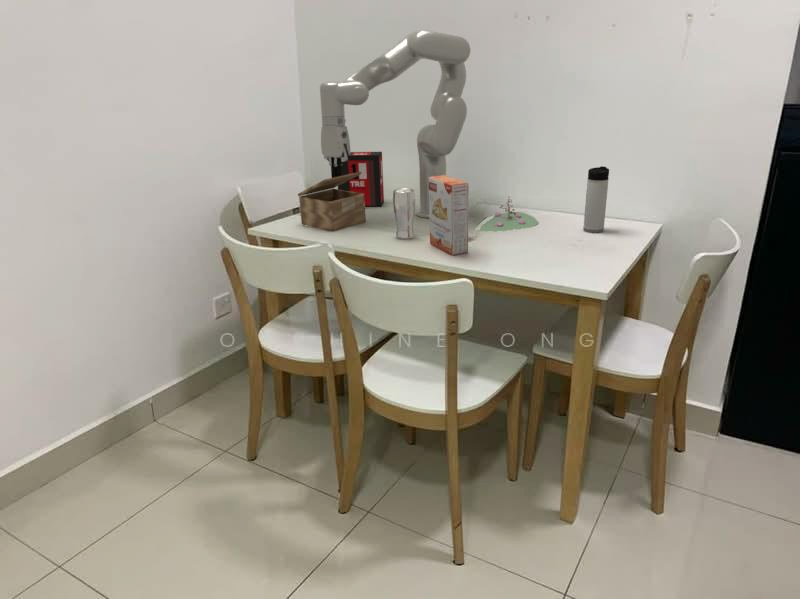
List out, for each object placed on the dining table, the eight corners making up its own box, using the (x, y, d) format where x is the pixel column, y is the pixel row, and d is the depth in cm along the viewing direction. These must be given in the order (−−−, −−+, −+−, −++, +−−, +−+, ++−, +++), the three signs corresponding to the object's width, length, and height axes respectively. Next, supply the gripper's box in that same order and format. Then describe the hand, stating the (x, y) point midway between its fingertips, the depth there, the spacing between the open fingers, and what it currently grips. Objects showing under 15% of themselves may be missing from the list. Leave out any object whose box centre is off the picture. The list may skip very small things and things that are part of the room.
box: (366, 221, 215) (364, 193, 212) (332, 231, 205) (330, 202, 201) (335, 215, 226) (333, 188, 222) (301, 224, 215) (299, 196, 211)
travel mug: (607, 229, 196) (613, 167, 189) (597, 234, 192) (603, 170, 185) (589, 226, 200) (594, 165, 193) (579, 231, 196) (584, 168, 189)
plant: (515, 238, 193) (516, 210, 190) (459, 229, 205) (459, 203, 201) (547, 220, 211) (549, 194, 208) (494, 213, 223) (495, 189, 220)
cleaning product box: (339, 208, 237) (335, 155, 229) (343, 202, 245) (340, 152, 238) (381, 207, 235) (378, 155, 228) (384, 202, 243) (381, 151, 236)
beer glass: (391, 238, 195) (389, 192, 189) (398, 233, 201) (397, 187, 195) (411, 240, 192) (410, 193, 187) (418, 234, 198) (417, 188, 193)
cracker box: (428, 244, 188) (427, 176, 180) (445, 241, 190) (445, 174, 182) (450, 256, 176) (450, 184, 168) (468, 253, 178) (469, 181, 171)
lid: (361, 173, 210) (360, 171, 210) (325, 181, 199) (325, 179, 199) (333, 188, 222) (332, 185, 222) (298, 196, 211) (297, 194, 211)
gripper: (357, 122, 198) (359, 178, 204) (326, 119, 207) (330, 173, 214) (340, 124, 193) (343, 182, 199) (309, 121, 202) (313, 177, 209)
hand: (336, 177), depth 207 cm, fingers closed
